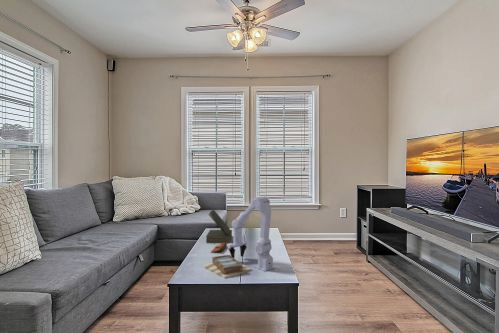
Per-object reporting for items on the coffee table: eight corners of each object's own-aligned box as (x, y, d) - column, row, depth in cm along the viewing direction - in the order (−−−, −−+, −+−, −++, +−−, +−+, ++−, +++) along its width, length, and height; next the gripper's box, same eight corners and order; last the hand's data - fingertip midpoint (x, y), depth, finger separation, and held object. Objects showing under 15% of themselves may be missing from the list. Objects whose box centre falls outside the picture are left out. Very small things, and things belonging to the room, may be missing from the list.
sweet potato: (216, 246, 231) (220, 239, 231) (223, 250, 231) (228, 243, 230) (210, 253, 214) (214, 245, 213) (218, 258, 213) (222, 250, 212)
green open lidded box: (229, 243, 239) (229, 213, 239) (205, 243, 240) (205, 213, 239) (232, 236, 262) (232, 208, 262) (210, 236, 263) (210, 208, 262)
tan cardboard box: (242, 271, 175) (242, 265, 175) (223, 274, 170) (223, 268, 170) (229, 259, 195) (229, 254, 195) (212, 262, 190) (212, 257, 190)
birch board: (251, 270, 180) (251, 268, 180) (224, 278, 167) (224, 276, 167) (228, 260, 198) (228, 258, 198) (202, 266, 185) (202, 265, 185)
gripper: (242, 234, 205) (242, 253, 205) (225, 237, 196) (225, 258, 196) (248, 236, 200) (248, 256, 200) (231, 240, 191) (231, 260, 191)
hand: (237, 257), depth 198 cm, fingers open, 7 cm apart
